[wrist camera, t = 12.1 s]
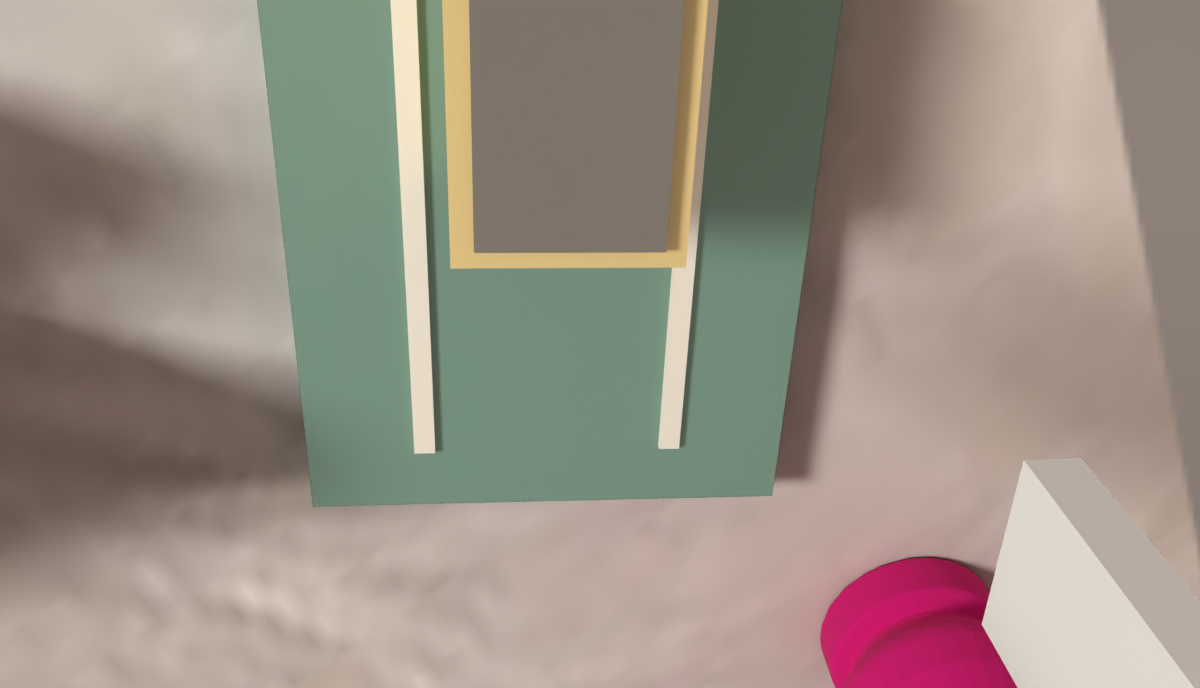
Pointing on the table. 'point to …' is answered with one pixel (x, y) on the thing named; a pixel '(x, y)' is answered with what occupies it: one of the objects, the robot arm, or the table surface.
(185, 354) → the table surface
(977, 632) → the pepper mill
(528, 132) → the plug block
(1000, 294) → the table surface
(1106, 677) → the robot arm
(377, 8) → the board
